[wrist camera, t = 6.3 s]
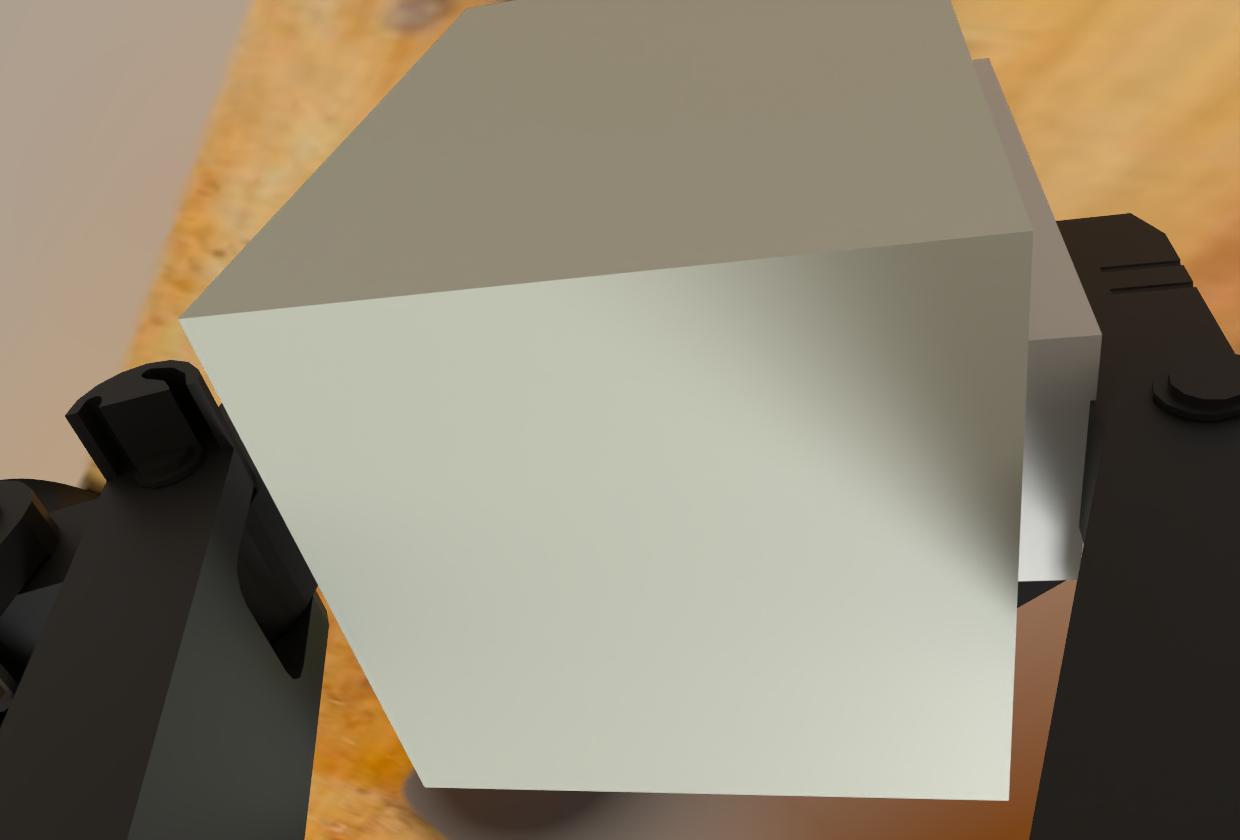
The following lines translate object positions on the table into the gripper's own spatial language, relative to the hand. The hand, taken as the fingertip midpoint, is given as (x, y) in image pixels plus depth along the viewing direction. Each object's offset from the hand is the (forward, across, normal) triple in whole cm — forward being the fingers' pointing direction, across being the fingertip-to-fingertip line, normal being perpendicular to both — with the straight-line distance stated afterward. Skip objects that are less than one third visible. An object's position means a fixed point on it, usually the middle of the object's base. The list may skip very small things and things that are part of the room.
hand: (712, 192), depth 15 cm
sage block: (0, 0, 0) cm, 0 cm away
